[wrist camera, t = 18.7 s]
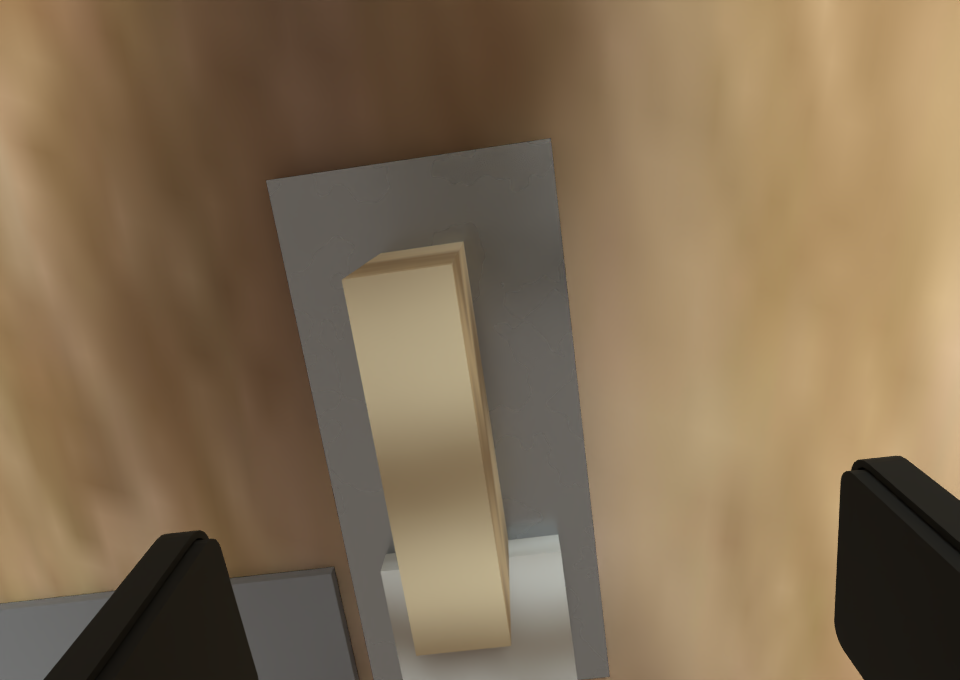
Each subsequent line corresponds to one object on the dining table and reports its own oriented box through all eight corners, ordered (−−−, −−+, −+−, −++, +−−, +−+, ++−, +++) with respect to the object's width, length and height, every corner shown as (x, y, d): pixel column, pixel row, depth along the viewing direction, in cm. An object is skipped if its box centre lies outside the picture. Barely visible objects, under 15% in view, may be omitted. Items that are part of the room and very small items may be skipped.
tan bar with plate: (326, 260, 23) (269, 290, 18) (519, 233, 23) (527, 253, 17) (410, 677, 28) (387, 811, 22) (574, 660, 27) (594, 792, 21)
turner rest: (275, 180, 24) (265, 180, 23) (548, 139, 23) (550, 138, 22) (382, 681, 29) (377, 699, 28) (605, 659, 28) (609, 676, 27)
